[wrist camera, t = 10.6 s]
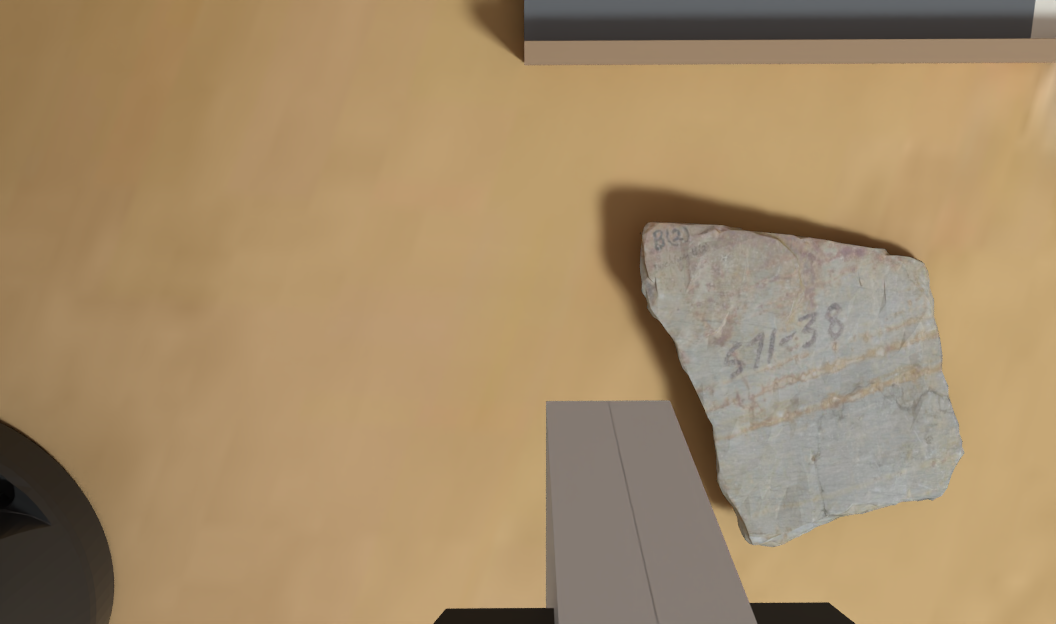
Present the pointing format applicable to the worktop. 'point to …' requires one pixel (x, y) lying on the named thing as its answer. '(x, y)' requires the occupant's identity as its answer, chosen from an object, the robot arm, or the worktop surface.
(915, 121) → the worktop surface
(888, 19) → the lane
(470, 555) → the worktop surface
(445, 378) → the worktop surface
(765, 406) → the stone
